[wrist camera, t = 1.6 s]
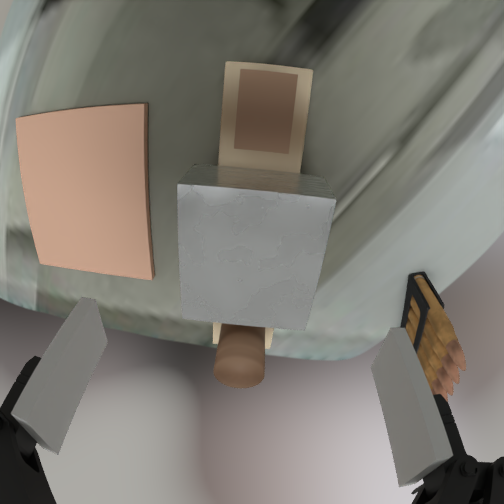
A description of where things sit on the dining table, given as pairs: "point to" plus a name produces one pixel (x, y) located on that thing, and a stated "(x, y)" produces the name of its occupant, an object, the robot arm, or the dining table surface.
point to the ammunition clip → (432, 335)
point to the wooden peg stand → (258, 157)
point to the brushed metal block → (251, 244)
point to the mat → (89, 188)
